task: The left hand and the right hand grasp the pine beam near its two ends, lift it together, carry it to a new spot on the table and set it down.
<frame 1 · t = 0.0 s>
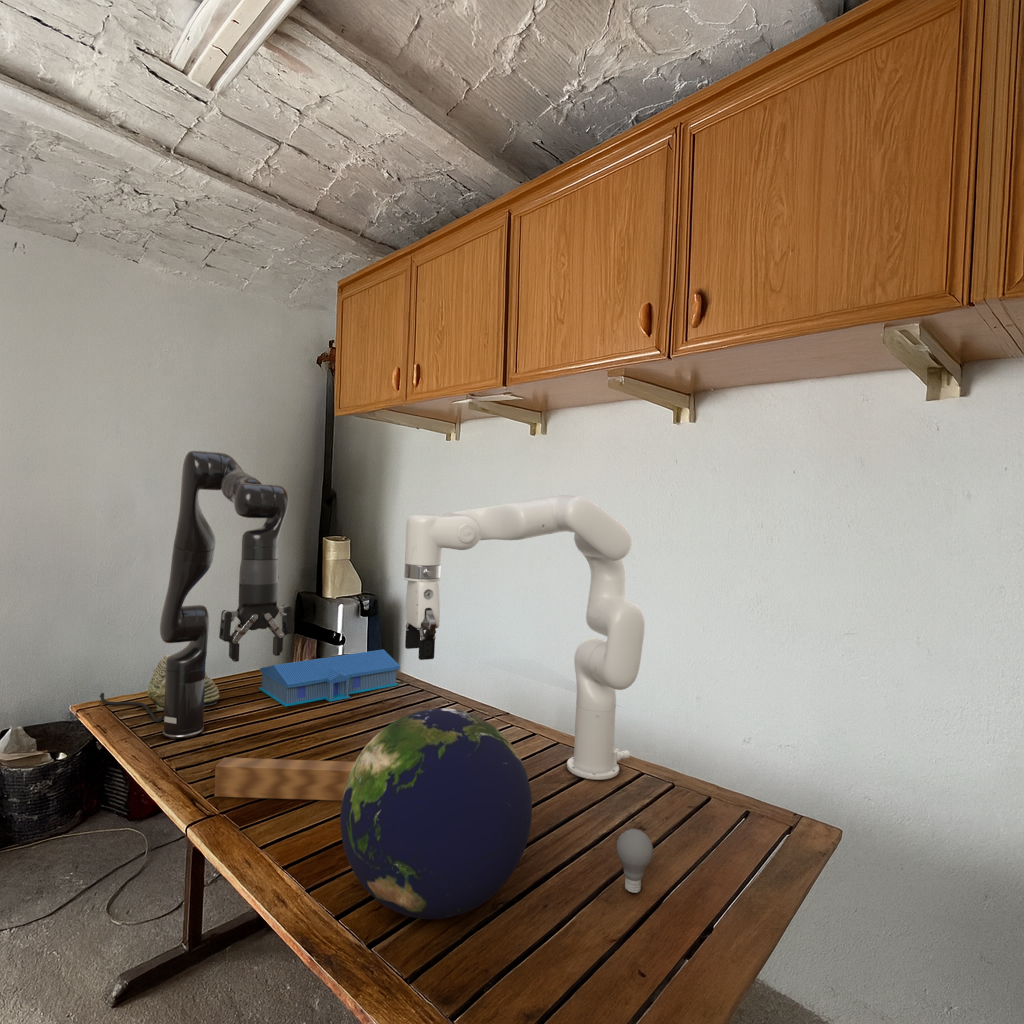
left hand: (256, 657, 132), 29 cm above the table, tool pointing down, fingers open, 8 cm apart
right hand: (419, 653, 134), 31 cm above the table, tool pointing down, fingers open, 9 cm apart
light bulb: (632, 891, 106), on the table
fossil: (183, 706, 185), on the table
model building: (332, 688, 208), on the table
anatomical model: (399, 739, 167), on the table
globe: (433, 902, 101), on the table
beam: (339, 795, 135), on the table
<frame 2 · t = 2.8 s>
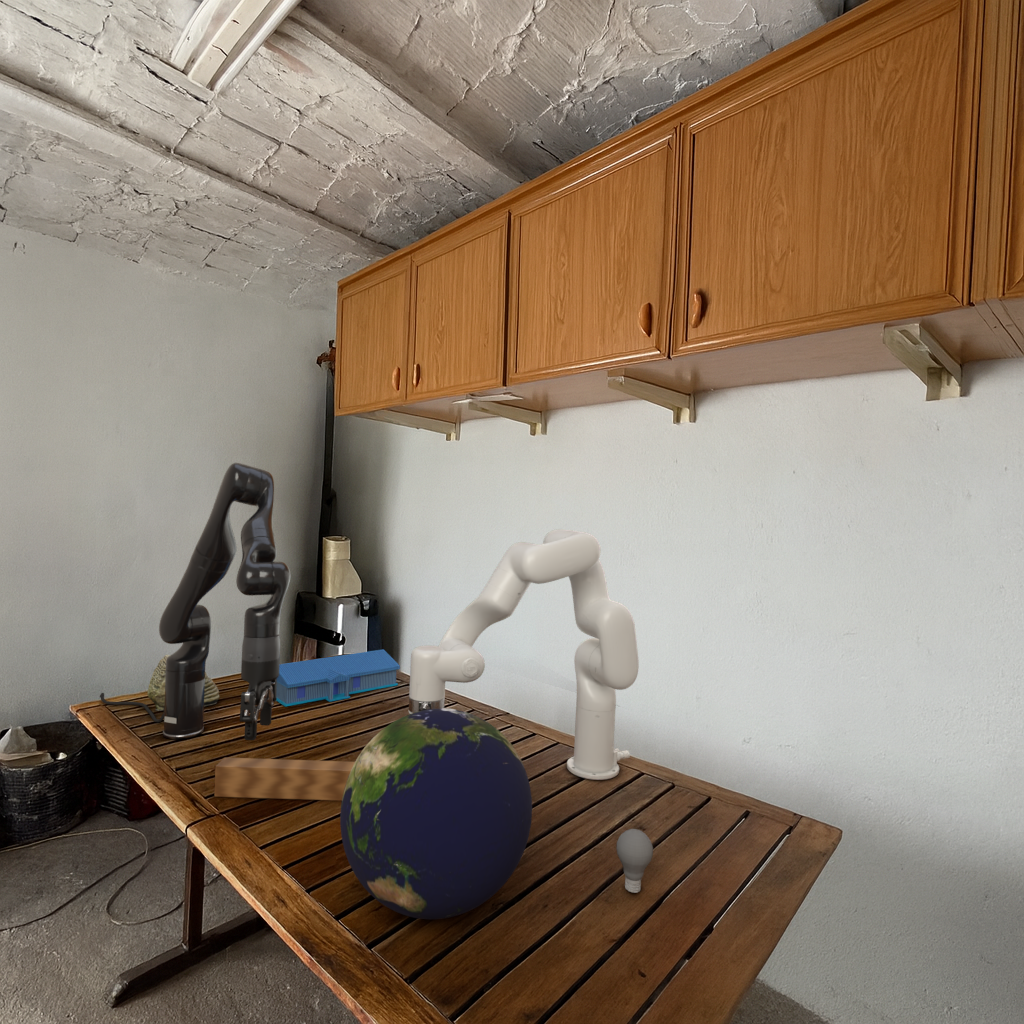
left hand: (258, 731, 134), 13 cm above the table, tool pointing down, fingers open, 8 cm apart
right hand: (423, 789, 135), 2 cm above the table, tool pointing down, fingers closed on beam, 4 cm apart
beam: (339, 795, 135), on the table, touching right hand
everything else where it was.
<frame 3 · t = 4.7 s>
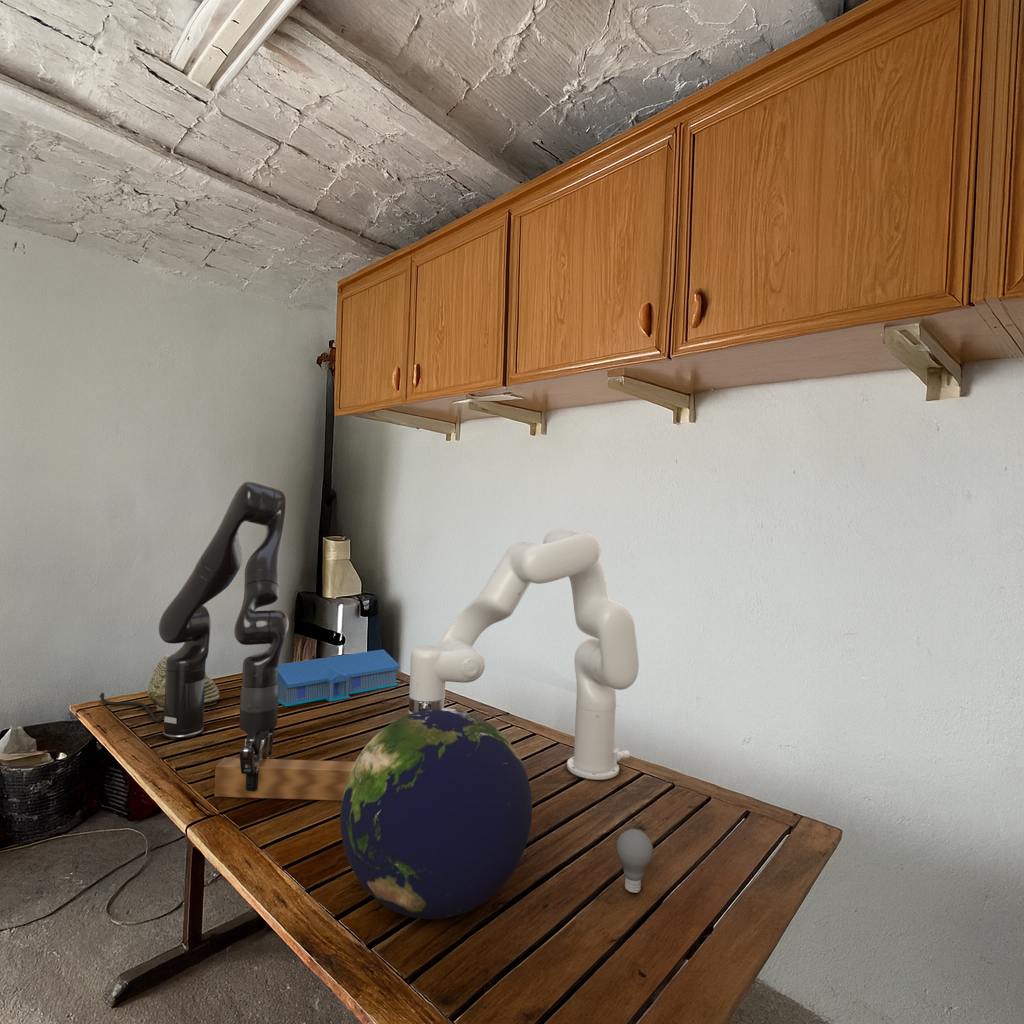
left hand: (256, 784, 134), 2 cm above the table, tool pointing down, fingers closed on beam, 4 cm apart
right hand: (423, 789, 135), 2 cm above the table, tool pointing down, fingers closed on beam, 4 cm apart
beam: (339, 795, 135), on the table, touching left hand, right hand
everything else where it was.
when the left hand's fingers open (3 cm above the table, at t = 9.7 s): beam drops 2 cm, on the table.
when the right hand's fingers open (4 cm above the table, at t = 9.7 s): beam drops 2 cm, on the table.
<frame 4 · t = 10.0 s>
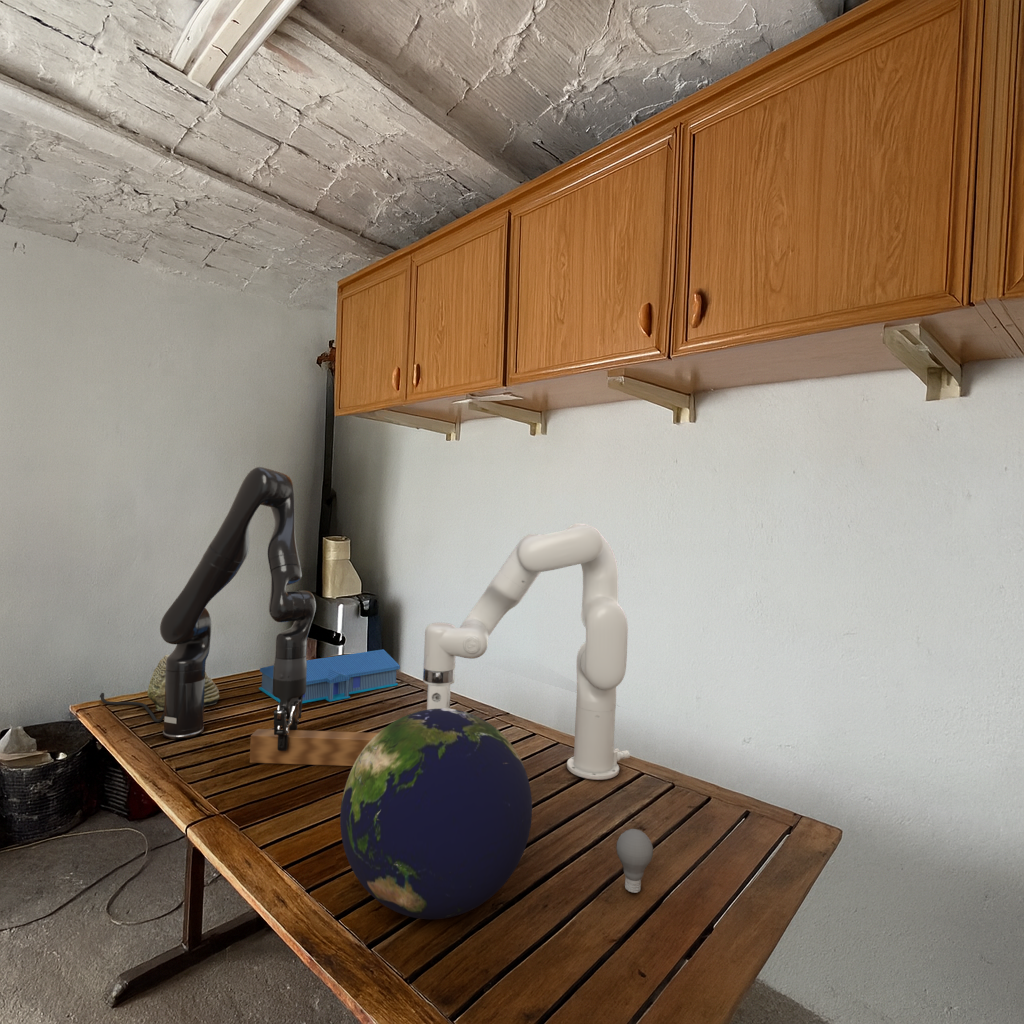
left hand: (287, 744, 151), 4 cm above the table, tool pointing down, fingers open, 6 cm apart
right hand: (435, 748, 152), 4 cm above the table, tool pointing down, fingers open, 7 cm apart
beam: (360, 762, 152), on the table
everything else where it was.
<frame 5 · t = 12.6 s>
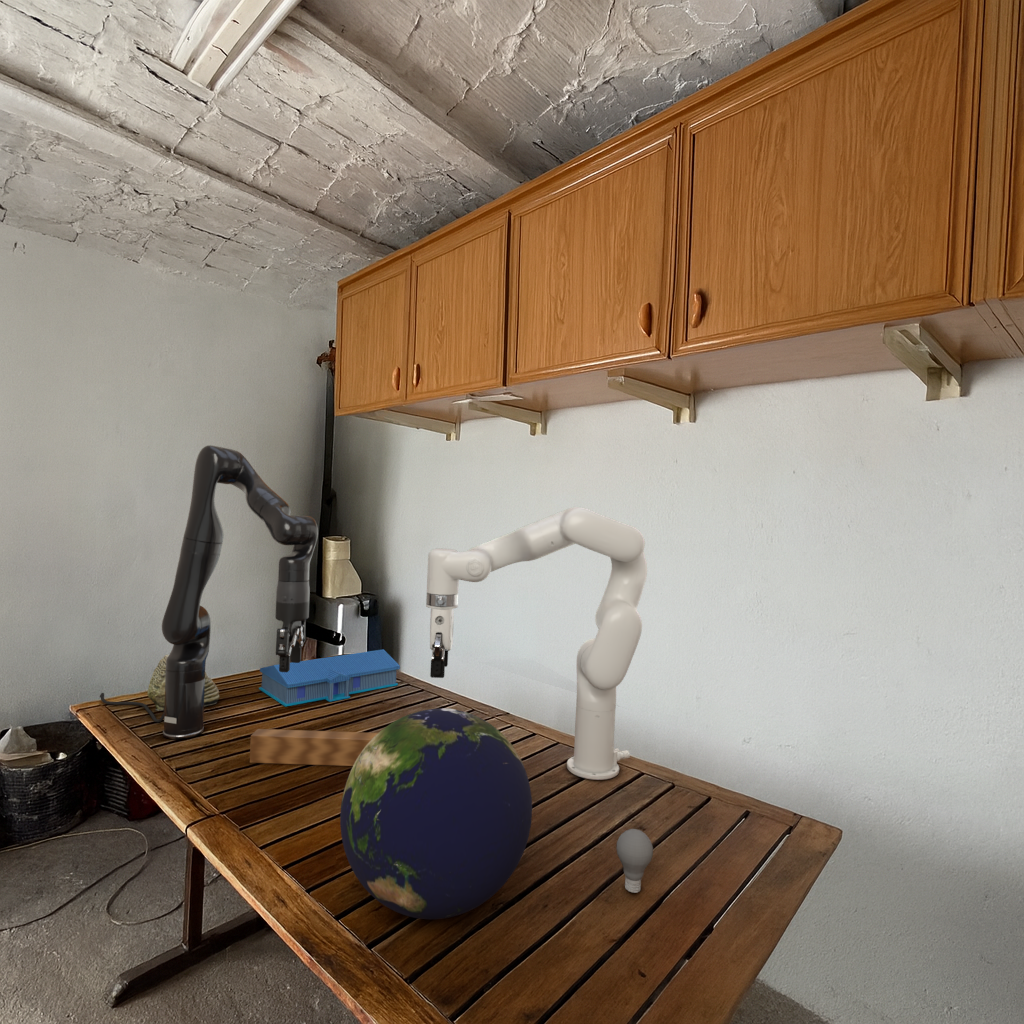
left hand: (290, 666, 151), 22 cm above the table, tool pointing down, fingers open, 8 cm apart
right hand: (439, 671, 152), 23 cm above the table, tool pointing down, fingers open, 9 cm apart
nothing on the table moved.
at the end: beam inside the target area (0.2 cm from its centre), on the table; beam tilted 0°; beam never tilted more than 1° during the clip; both hands held the beam at the same time; the left hand is holding nothing; the right hand is holding nothing; beam at rest at the end (0.0 cm/s) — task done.
